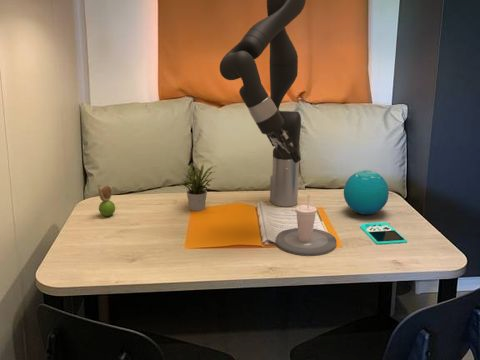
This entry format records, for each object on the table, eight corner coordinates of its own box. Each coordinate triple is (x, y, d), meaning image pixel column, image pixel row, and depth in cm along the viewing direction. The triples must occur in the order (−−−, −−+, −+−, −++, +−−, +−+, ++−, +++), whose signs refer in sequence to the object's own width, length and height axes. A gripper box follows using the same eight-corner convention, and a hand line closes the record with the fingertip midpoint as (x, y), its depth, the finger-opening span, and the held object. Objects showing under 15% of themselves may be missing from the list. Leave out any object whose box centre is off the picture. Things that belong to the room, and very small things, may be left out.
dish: (263, 241, 167) (263, 237, 167) (305, 226, 178) (305, 223, 178) (306, 261, 154) (306, 257, 153) (348, 244, 165) (349, 240, 164)
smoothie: (315, 244, 162) (316, 198, 158) (293, 242, 163) (294, 197, 159) (316, 235, 168) (318, 191, 164) (295, 234, 169) (296, 190, 165)
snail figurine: (94, 218, 185) (91, 184, 181) (105, 211, 191) (103, 178, 187) (107, 220, 183) (105, 186, 179) (118, 214, 189) (116, 180, 185)
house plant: (228, 206, 196) (228, 162, 191) (205, 218, 185) (205, 171, 180) (196, 199, 203) (195, 156, 199) (172, 210, 192) (171, 165, 187)
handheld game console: (387, 225, 182) (387, 221, 181) (408, 244, 166) (408, 240, 166) (357, 226, 180) (357, 223, 180) (376, 246, 165) (377, 242, 165)
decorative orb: (349, 203, 200) (351, 163, 195) (391, 209, 194) (394, 168, 189) (337, 216, 187) (339, 174, 183) (381, 224, 181) (385, 180, 176)
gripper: (285, 108, 156) (312, 155, 161) (266, 105, 169) (292, 149, 174) (264, 123, 154) (291, 170, 160) (247, 119, 168) (273, 162, 173)
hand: (292, 159), depth 167 cm, fingers open, 8 cm apart
